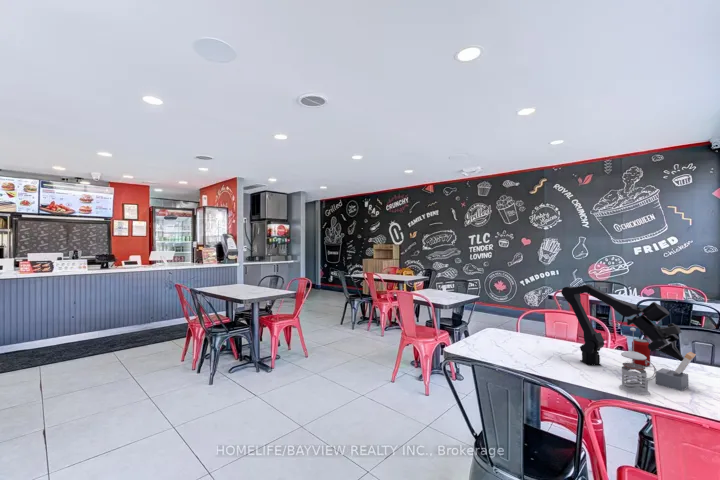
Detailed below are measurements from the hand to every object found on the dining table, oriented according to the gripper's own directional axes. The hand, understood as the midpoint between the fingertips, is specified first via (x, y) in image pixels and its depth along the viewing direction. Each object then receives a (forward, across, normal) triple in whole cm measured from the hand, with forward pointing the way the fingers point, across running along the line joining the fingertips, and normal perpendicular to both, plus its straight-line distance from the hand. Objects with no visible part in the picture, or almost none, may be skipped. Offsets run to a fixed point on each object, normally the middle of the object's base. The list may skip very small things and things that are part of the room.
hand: (683, 360), depth 131 cm
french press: (+2, -19, +15) cm, 24 cm away
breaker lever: (+3, 0, +5) cm, 6 cm away
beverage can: (-6, +21, +22) cm, 31 cm away
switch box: (+5, 0, +11) cm, 12 cm away
